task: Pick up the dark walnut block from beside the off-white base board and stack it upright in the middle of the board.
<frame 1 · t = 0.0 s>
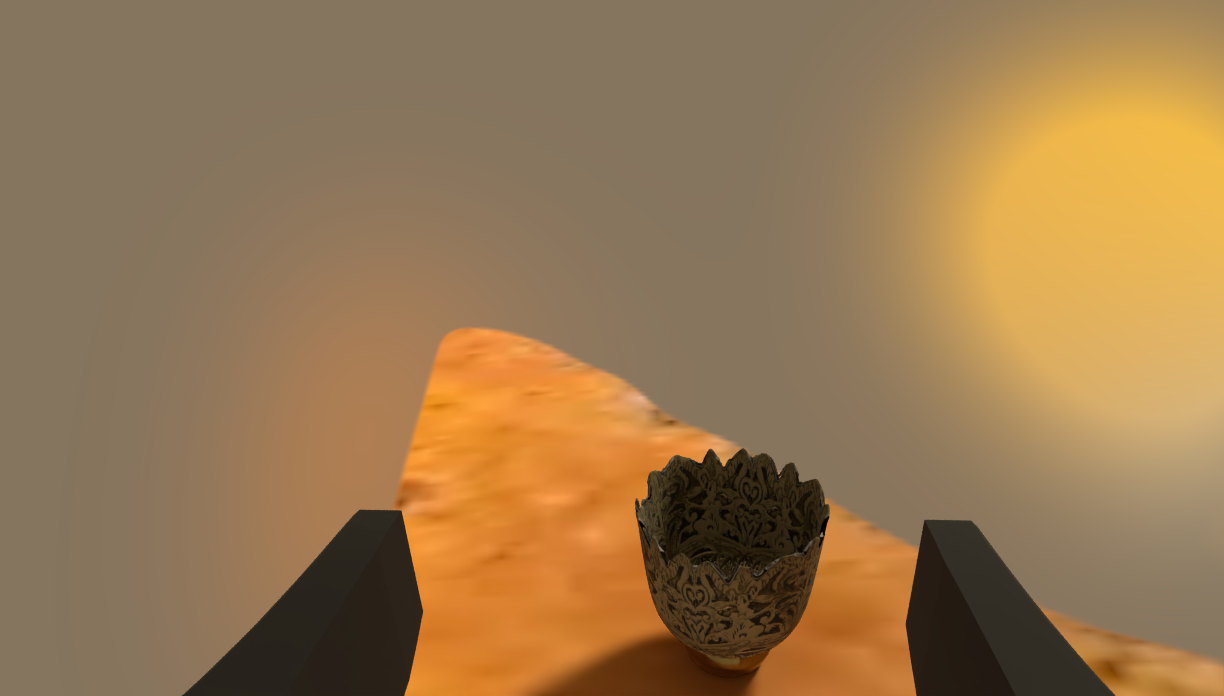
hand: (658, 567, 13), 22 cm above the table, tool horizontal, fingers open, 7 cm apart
cup: (726, 654, 41), on the table
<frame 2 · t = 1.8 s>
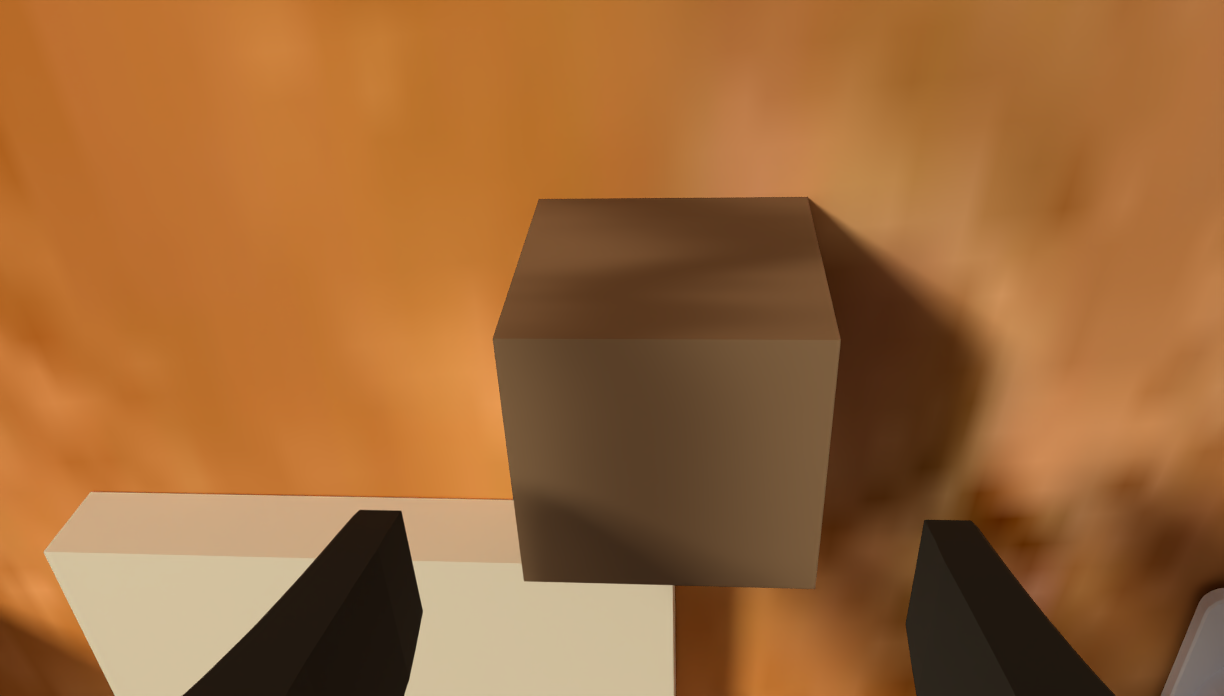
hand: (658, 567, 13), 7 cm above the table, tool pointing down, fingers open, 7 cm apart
walnut block: (672, 311, 19), on the table
base board: (419, 691, 26), on the table
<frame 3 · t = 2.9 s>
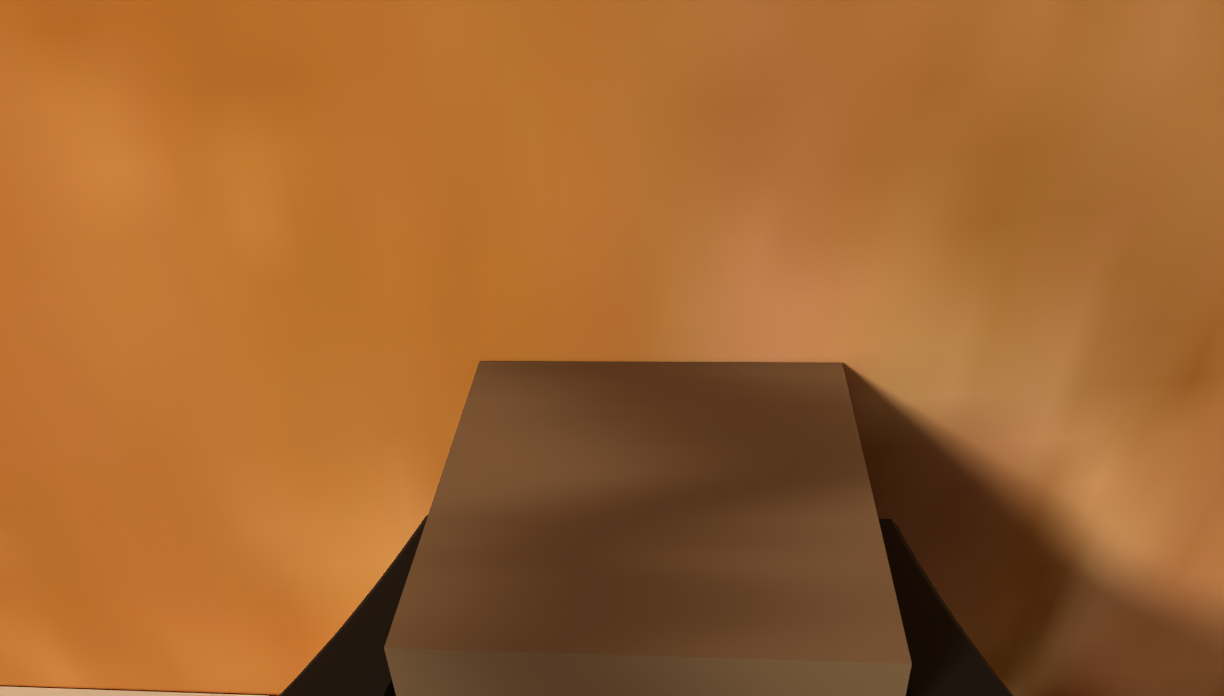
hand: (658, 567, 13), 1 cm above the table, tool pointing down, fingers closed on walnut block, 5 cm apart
walnut block: (660, 498, 15), on the table, touching gripper
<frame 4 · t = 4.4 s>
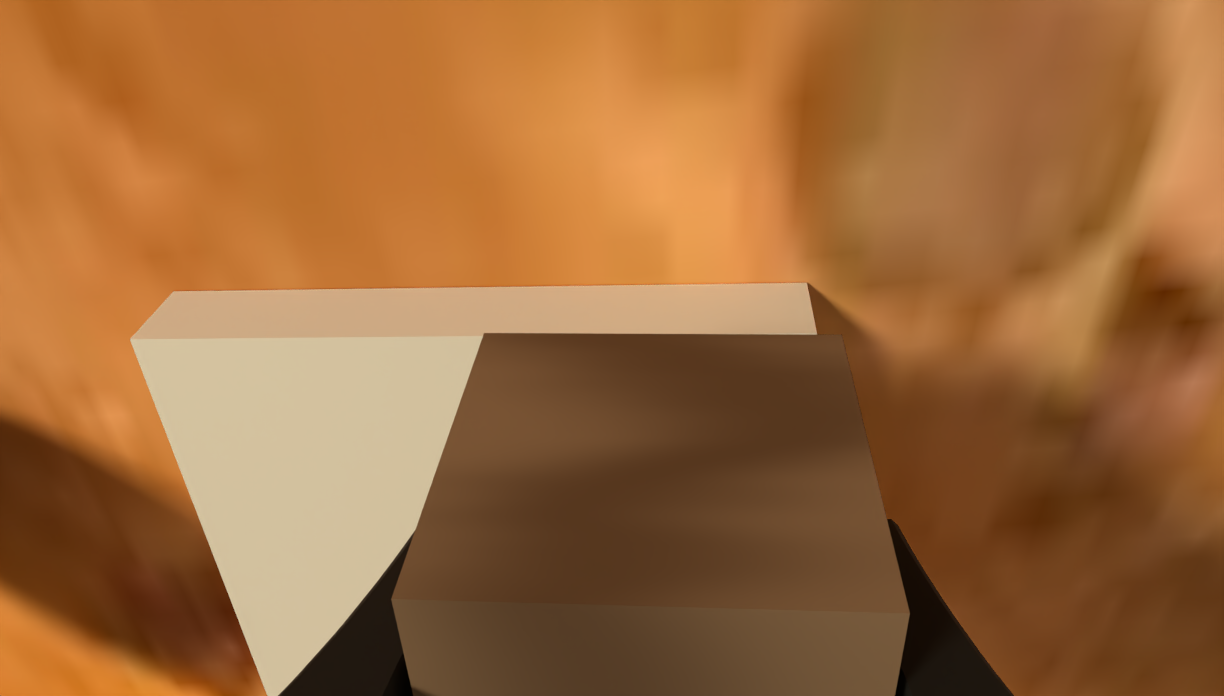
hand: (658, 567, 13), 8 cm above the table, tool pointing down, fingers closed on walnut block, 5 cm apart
walnut block: (662, 472, 15), point 7 cm above the table, touching gripper
base board: (515, 525, 25), on the table
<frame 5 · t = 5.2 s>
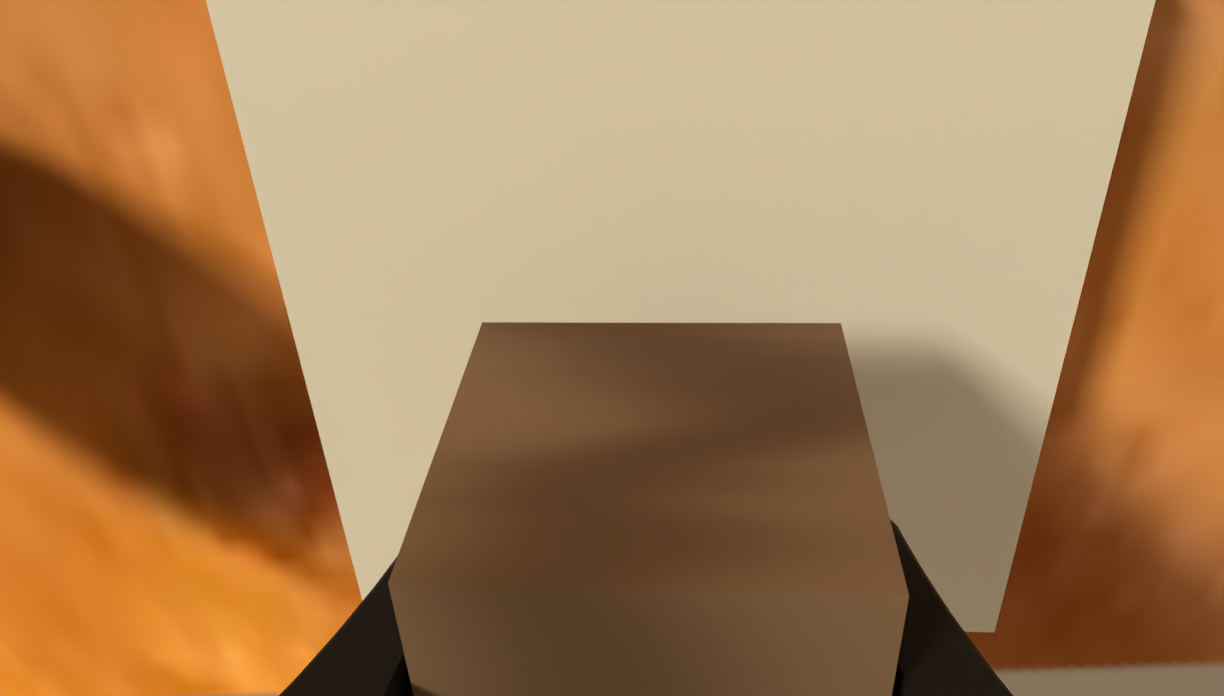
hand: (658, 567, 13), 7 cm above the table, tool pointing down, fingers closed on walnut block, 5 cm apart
walnut block: (661, 462, 15), point 5 cm above the table, touching gripper
base board: (671, 307, 19), on the table
when the fingers open (5 cm above the table, at t = 6.0 s): walnut block drops 1 cm, resting on base board.
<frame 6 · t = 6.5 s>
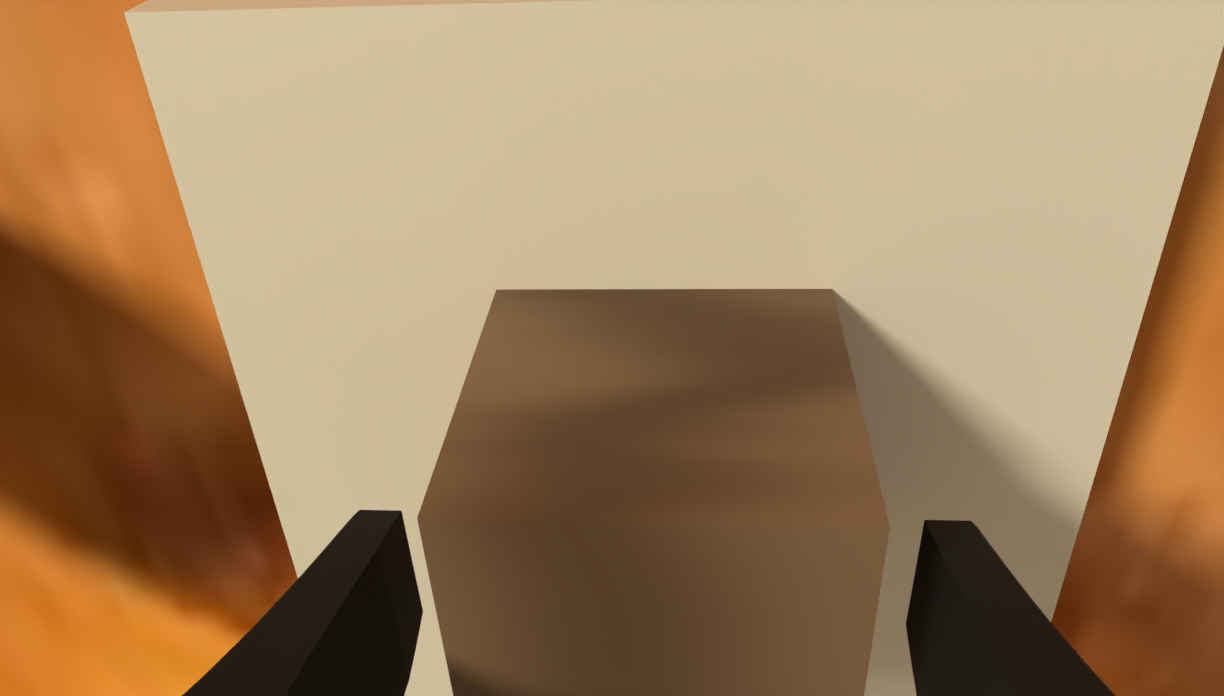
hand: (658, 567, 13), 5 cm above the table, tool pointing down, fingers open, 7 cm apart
walnut block: (664, 422, 16), point 2 cm above the table, touching base board
base board: (666, 369, 18), on the table
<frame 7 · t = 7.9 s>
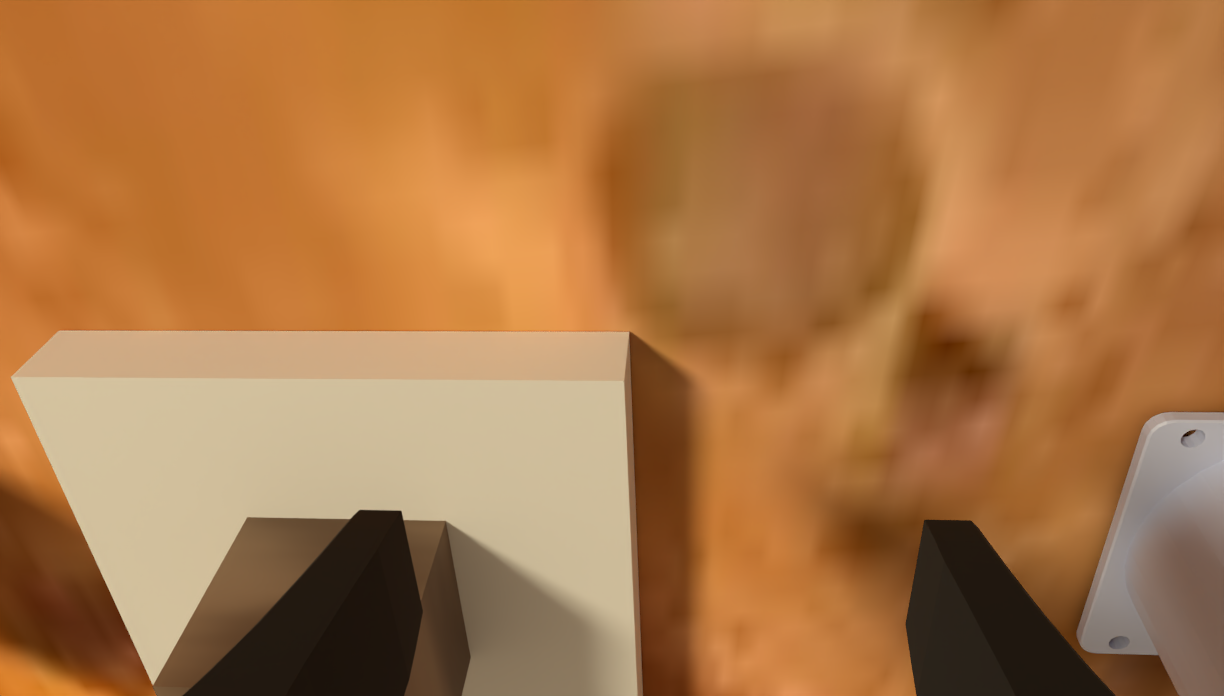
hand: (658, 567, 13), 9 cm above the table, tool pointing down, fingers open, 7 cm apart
walnut block: (364, 590, 25), point 2 cm above the table, touching base board
base board: (386, 544, 27), on the table
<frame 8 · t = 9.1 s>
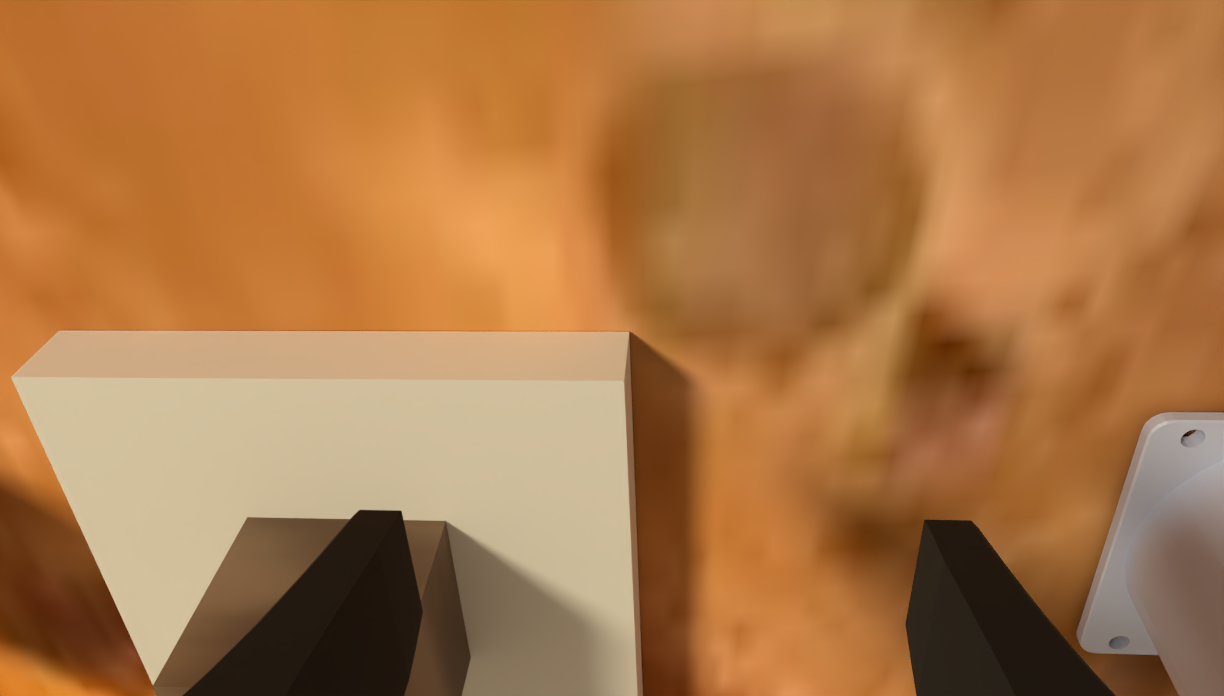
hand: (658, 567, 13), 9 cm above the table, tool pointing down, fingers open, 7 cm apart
walnut block: (364, 590, 25), point 2 cm above the table, touching base board
base board: (386, 544, 27), on the table
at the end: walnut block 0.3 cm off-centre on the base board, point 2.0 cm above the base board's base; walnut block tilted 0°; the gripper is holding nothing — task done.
